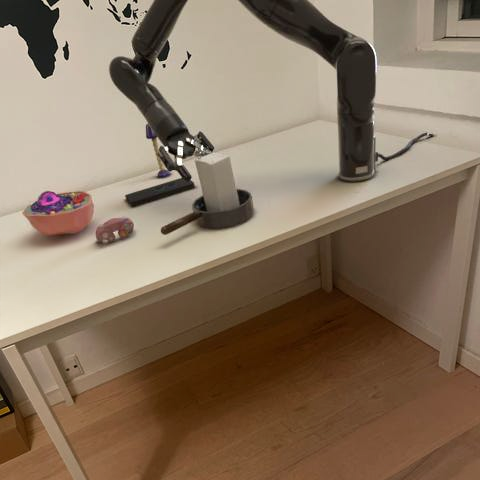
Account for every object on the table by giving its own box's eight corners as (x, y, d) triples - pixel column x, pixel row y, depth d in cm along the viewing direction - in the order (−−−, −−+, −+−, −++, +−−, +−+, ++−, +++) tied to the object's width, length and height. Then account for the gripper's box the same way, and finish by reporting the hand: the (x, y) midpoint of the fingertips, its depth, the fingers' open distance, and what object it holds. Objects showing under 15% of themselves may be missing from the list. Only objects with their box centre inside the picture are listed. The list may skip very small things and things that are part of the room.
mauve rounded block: (101, 251, 121) (96, 232, 115) (95, 239, 123) (89, 220, 117) (138, 238, 124) (135, 219, 118) (131, 226, 126) (128, 207, 120)
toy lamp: (154, 178, 159) (140, 126, 149) (160, 173, 162) (147, 122, 153) (166, 178, 157) (153, 125, 148) (173, 172, 160) (160, 121, 151)
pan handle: (198, 216, 118) (197, 208, 117) (203, 217, 117) (202, 210, 116) (160, 235, 113) (157, 227, 111) (164, 237, 111) (162, 229, 110)
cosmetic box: (242, 214, 121) (232, 156, 112) (222, 223, 119) (210, 163, 110) (224, 207, 127) (214, 150, 119) (205, 214, 125) (193, 157, 116)
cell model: (70, 250, 121) (53, 208, 115) (22, 241, 131) (4, 202, 125) (116, 221, 132) (103, 182, 126) (68, 215, 142) (54, 178, 136)
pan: (227, 201, 132) (224, 185, 129) (266, 211, 122) (263, 194, 119) (184, 222, 124) (180, 205, 122) (222, 234, 114) (218, 217, 112)
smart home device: (194, 182, 144) (131, 201, 138) (195, 187, 145) (132, 207, 139) (185, 176, 150) (124, 194, 145) (186, 181, 151) (125, 199, 146)
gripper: (146, 121, 115) (185, 174, 114) (191, 105, 122) (228, 156, 121) (140, 141, 121) (177, 192, 120) (183, 126, 128) (218, 173, 127)
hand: (202, 174), depth 121 cm, fingers open, 8 cm apart
